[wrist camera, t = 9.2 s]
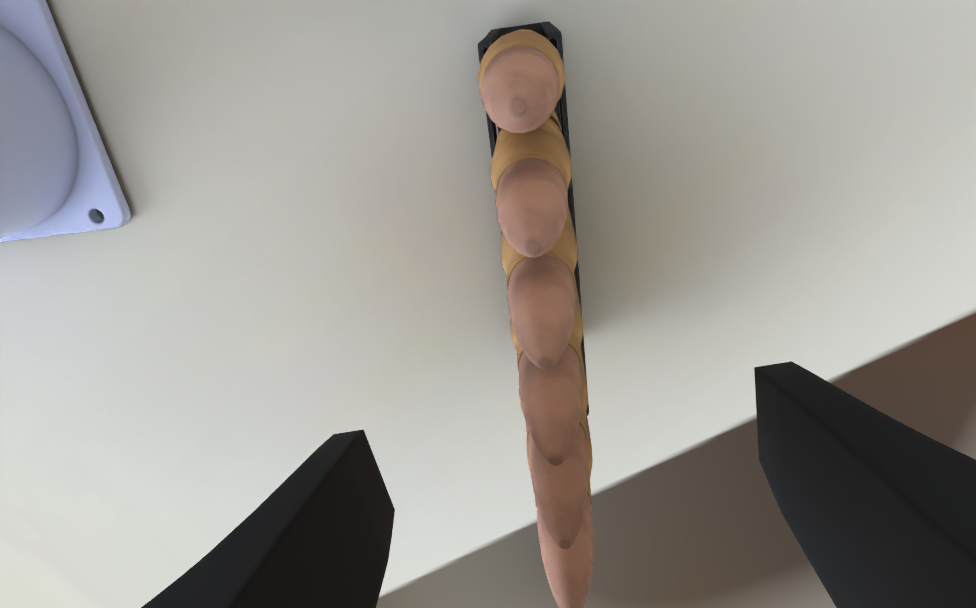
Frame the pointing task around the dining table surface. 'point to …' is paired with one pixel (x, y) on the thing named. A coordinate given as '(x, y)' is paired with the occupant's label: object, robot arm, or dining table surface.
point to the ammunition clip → (543, 287)
